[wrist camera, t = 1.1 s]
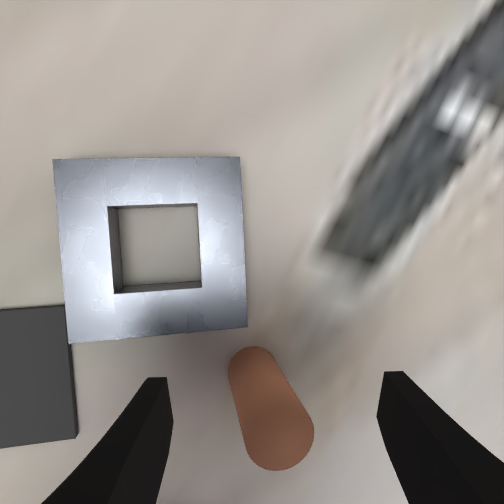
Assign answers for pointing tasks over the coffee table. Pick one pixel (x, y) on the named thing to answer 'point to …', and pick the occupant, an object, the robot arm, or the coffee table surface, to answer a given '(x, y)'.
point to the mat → (36, 377)
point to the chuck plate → (109, 253)
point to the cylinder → (268, 411)
